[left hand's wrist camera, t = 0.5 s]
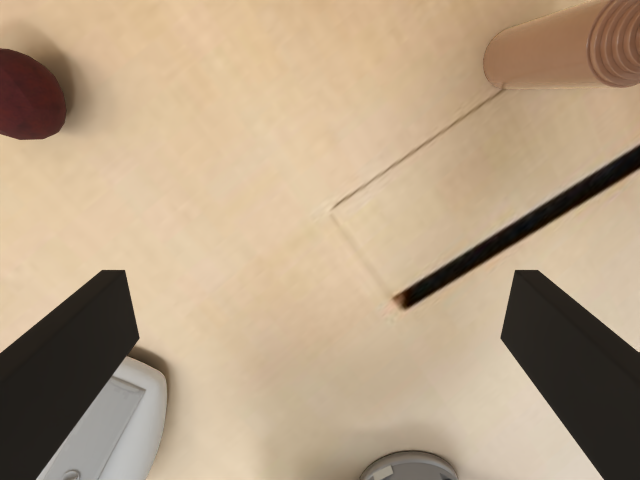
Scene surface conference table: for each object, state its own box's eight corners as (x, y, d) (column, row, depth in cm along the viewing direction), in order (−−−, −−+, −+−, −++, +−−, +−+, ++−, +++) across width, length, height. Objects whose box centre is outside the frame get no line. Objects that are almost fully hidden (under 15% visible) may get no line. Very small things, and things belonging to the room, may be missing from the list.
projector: (219, 456, 54) (185, 578, 41) (80, 489, 57) (5, 613, 43) (149, 336, 47) (78, 437, 33) (-8, 379, 49) (-133, 489, 36)
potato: (38, 36, 34) (-29, 22, 28) (100, 110, 37) (52, 113, 30) (-14, 84, 36) (-88, 82, 29) (49, 152, 38) (-7, 164, 32)
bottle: (513, 13, 34) (731, -76, 16) (552, 52, 35) (795, 11, 17) (471, 65, 35) (626, 37, 18) (509, 101, 37) (692, 109, 19)
